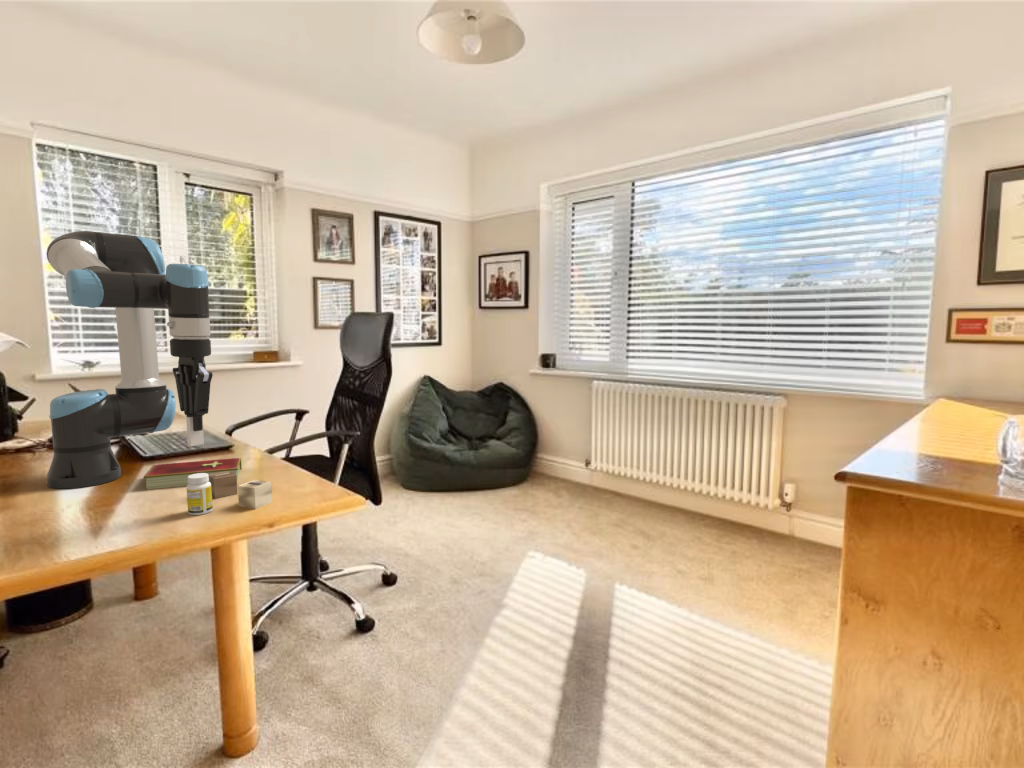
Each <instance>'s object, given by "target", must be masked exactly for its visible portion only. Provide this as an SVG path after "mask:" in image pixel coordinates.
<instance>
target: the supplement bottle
mask: <svg viewBox="0 0 1024 768" xmlns="http://www.w3.org/2000/svg"><path fill="white" fill-rule="evenodd" d="M208 481H209V475H208V474H207V473H197V474H192V475H189V476H188V483H189V484H188V485H187V486H186V501H187V511H188V514H189V515H191V516H200V515H206V514H208V513H211V512H212V511H213V497H212V490H211V483H210V482H208Z"/></svg>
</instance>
